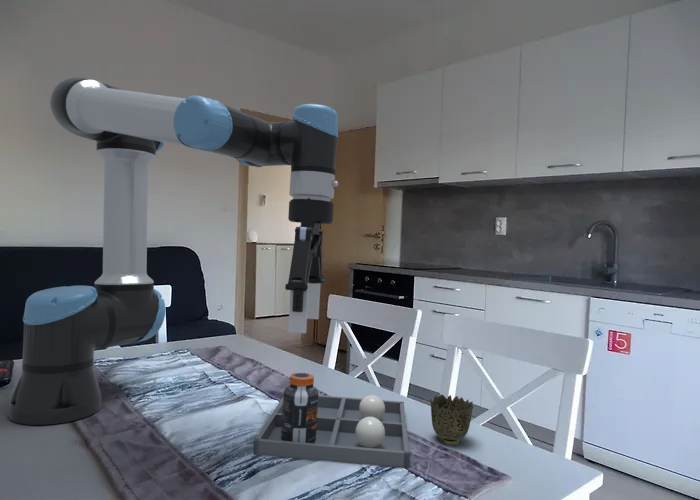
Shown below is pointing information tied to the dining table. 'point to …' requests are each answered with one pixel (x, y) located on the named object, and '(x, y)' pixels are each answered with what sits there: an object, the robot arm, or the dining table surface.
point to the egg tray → (340, 435)
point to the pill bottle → (300, 409)
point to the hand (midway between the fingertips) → (304, 325)
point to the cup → (451, 418)
